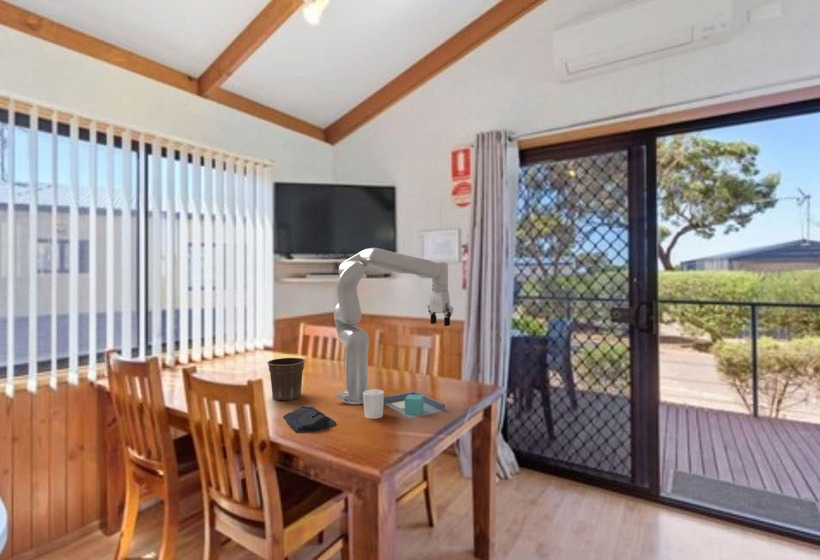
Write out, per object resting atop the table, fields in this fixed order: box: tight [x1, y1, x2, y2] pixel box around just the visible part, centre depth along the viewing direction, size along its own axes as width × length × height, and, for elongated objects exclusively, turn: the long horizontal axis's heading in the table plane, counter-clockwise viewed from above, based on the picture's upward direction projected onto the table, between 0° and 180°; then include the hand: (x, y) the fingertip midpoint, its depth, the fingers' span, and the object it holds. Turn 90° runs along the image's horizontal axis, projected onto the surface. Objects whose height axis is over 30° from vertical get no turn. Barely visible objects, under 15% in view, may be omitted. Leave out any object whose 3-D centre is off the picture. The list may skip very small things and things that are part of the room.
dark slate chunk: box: [282, 406, 337, 434], centre depth 167 cm, size 15×22×5 cm
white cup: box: [363, 388, 385, 420], centre depth 170 cm, size 8×8×10 cm
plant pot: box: [266, 357, 306, 401], centre depth 199 cm, size 16×16×16 cm
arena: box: [384, 390, 446, 419], centre depth 180 cm, size 16×22×4 cm
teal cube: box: [405, 394, 424, 415], centre depth 173 cm, size 6×6×6 cm
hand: (440, 324), depth 211 cm, fingers open, 9 cm apart
